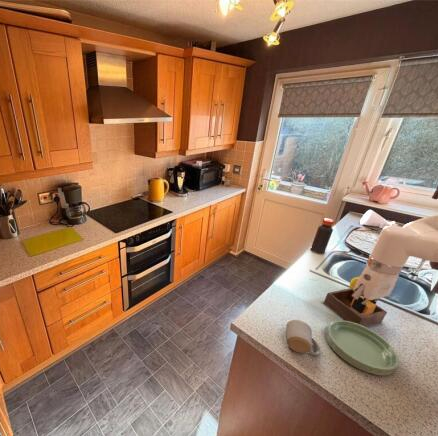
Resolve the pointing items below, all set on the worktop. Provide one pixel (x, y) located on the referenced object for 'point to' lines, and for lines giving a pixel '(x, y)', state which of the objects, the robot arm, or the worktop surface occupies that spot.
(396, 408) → the worktop surface
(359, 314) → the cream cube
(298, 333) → the ceramic mug
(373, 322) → the holder
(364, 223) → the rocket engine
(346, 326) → the plate
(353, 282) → the lemon
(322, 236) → the bottle
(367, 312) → the orange block
